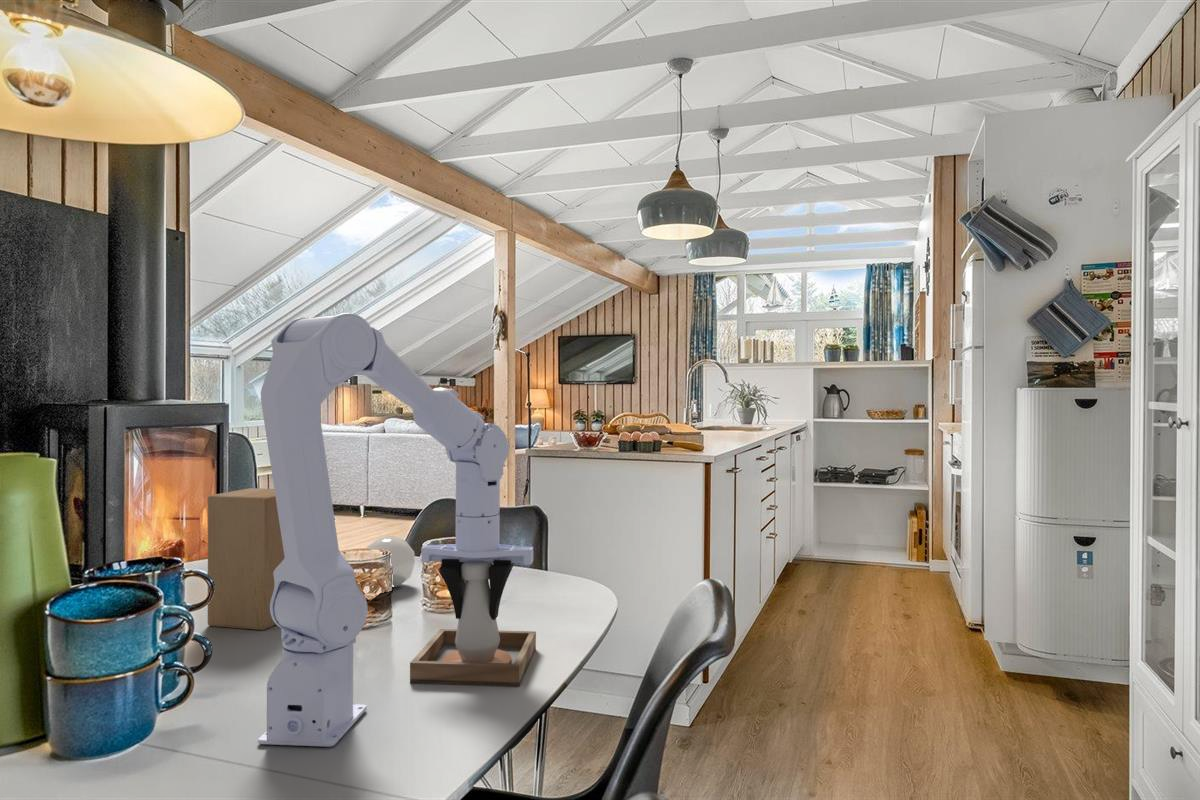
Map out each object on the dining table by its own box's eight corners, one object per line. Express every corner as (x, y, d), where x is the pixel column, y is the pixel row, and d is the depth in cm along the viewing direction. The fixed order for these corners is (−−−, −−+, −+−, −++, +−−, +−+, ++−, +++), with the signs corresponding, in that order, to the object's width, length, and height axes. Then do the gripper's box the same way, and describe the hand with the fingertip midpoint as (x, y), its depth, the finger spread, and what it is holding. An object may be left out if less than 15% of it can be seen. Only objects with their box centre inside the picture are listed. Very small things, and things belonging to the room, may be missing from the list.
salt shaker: (494, 667, 97) (494, 565, 97) (450, 666, 98) (449, 565, 98) (503, 651, 103) (502, 555, 103) (461, 651, 104) (461, 555, 103)
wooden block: (303, 612, 124) (304, 489, 124) (264, 631, 114) (264, 497, 114) (249, 608, 126) (249, 487, 126) (206, 626, 116) (206, 495, 116)
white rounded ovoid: (404, 587, 146) (378, 619, 131) (362, 557, 146) (331, 586, 131) (431, 549, 145) (408, 578, 130) (389, 519, 144) (361, 544, 130)
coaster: (504, 674, 96) (504, 672, 96) (433, 672, 96) (433, 670, 96) (516, 650, 105) (516, 648, 105) (451, 648, 105) (452, 646, 105)
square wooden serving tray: (519, 686, 93) (519, 666, 93) (409, 682, 94) (410, 662, 94) (535, 649, 107) (535, 631, 107) (440, 646, 108) (440, 628, 108)
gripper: (536, 510, 104) (536, 609, 104) (432, 508, 105) (431, 607, 105) (528, 518, 97) (528, 625, 97) (416, 516, 98) (416, 622, 98)
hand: (477, 617), depth 100 cm, fingers closed on salt shaker, 4 cm apart
